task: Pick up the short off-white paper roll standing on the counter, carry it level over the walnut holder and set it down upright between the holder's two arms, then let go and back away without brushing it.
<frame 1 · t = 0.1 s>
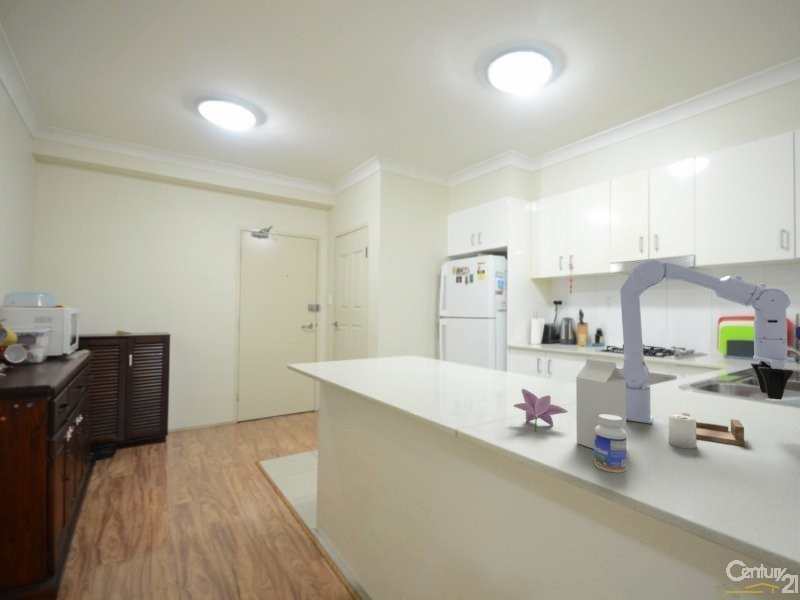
hand: (770, 395, 92), 10 cm above the countertop, tool pointing down, fingers open, 7 cm apart
paper roll: (682, 444, 87), on the countertop
milk carton: (600, 447, 85), on the countertop
pill bottle: (610, 468, 74), on the countertop
holder: (711, 436, 92), on the countertop
lily: (538, 428, 99), on the countertop
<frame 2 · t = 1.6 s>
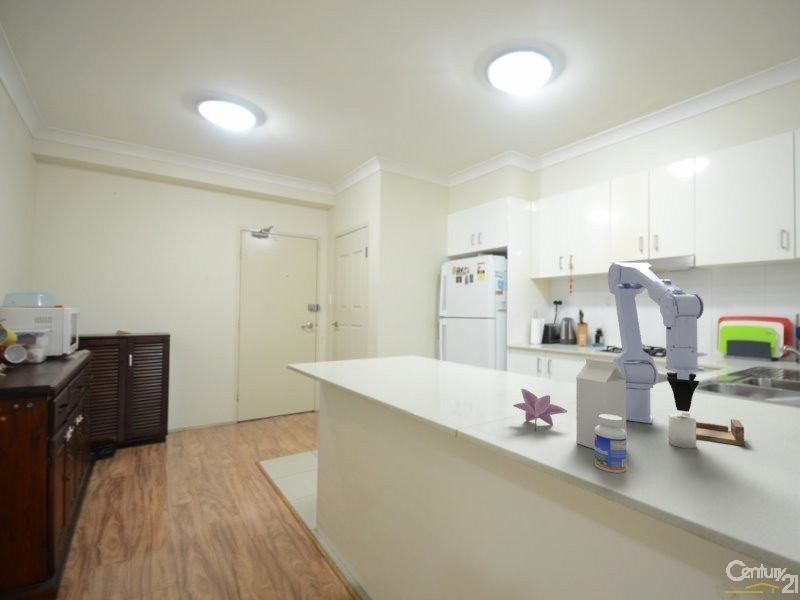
hand: (682, 407, 87), 8 cm above the countertop, tool pointing down, fingers open, 7 cm apart
nothing on the countertop moved.
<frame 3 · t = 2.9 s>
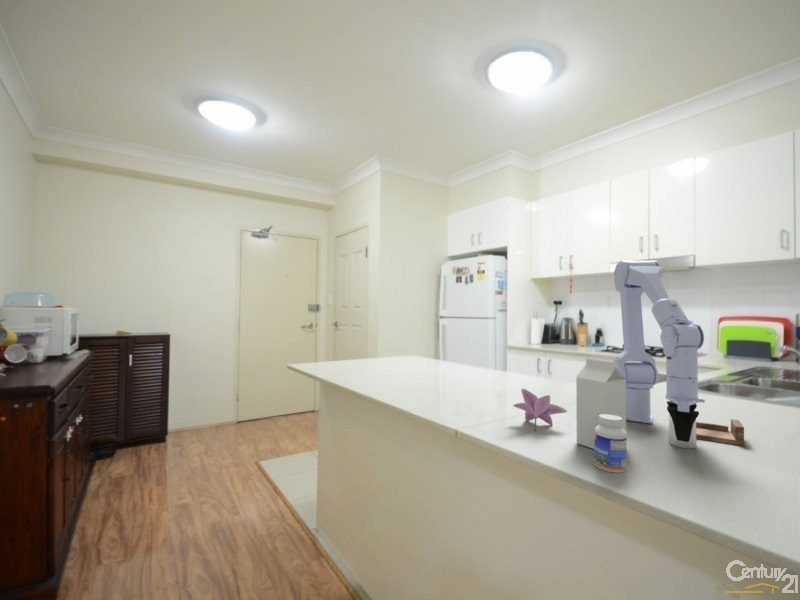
hand: (682, 437, 87), 2 cm above the countertop, tool pointing down, fingers closed on paper roll, 5 cm apart
paper roll: (682, 444, 87), on the countertop, touching gripper
everything else where it was.
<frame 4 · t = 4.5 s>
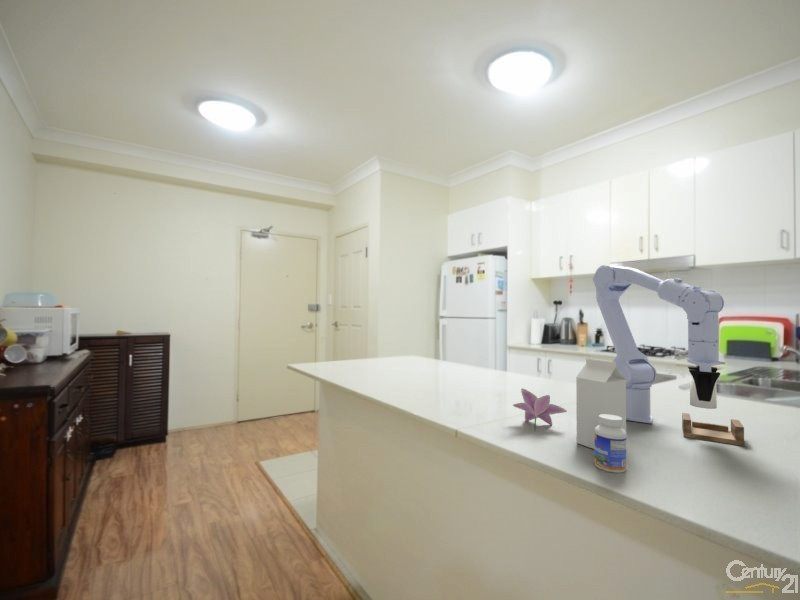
hand: (703, 398, 91), 9 cm above the countertop, tool pointing down, fingers closed on paper roll, 5 cm apart
paper roll: (703, 406, 91), point 8 cm above the countertop, touching gripper
everything else where it was.
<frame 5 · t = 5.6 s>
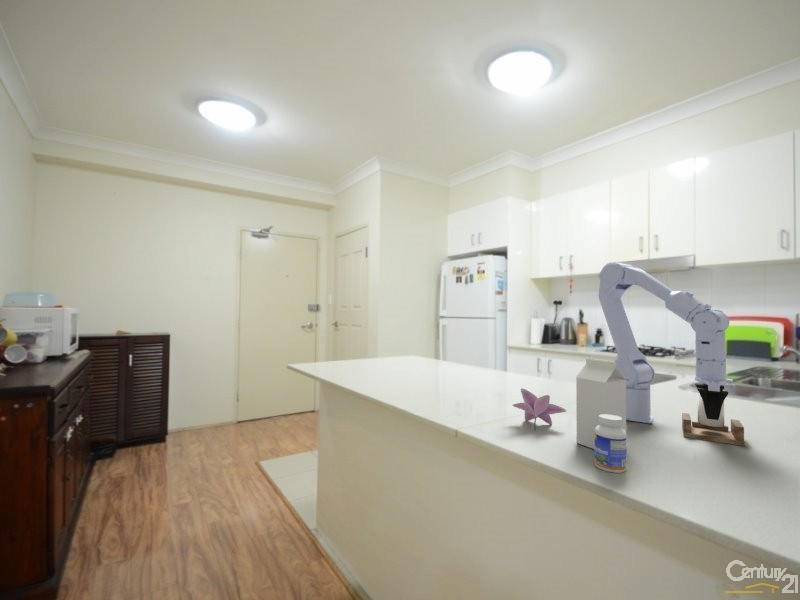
hand: (711, 416, 93), 5 cm above the countertop, tool pointing down, fingers closed on paper roll, 5 cm apart
paper roll: (710, 423, 93), point 3 cm above the countertop, touching gripper
everything else where it was.
when the fingers open (3 cm above the countertop, at t = 6.4 s): paper roll stays where it is, resting on holder.
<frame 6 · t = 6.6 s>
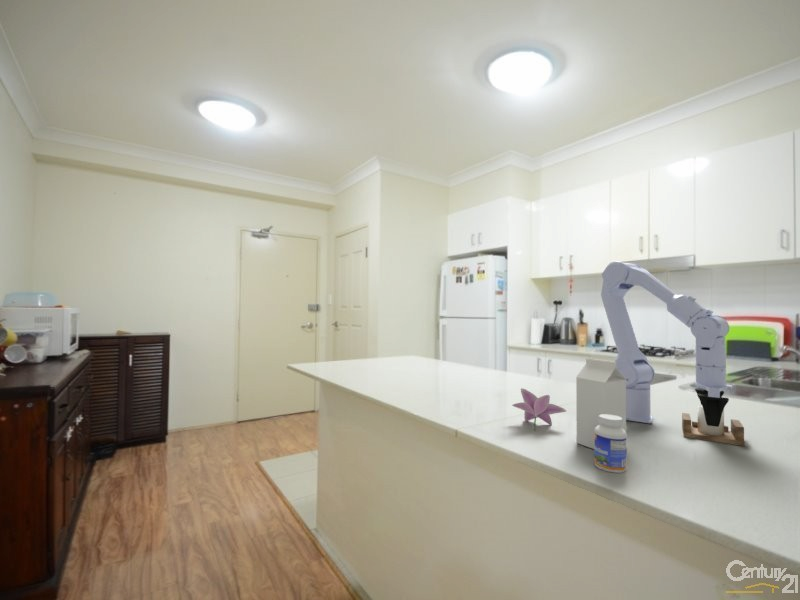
hand: (711, 422, 93), 3 cm above the countertop, tool pointing down, fingers open, 6 cm apart
paper roll: (710, 432, 93), point 1 cm above the countertop, touching holder
everything else where it was.
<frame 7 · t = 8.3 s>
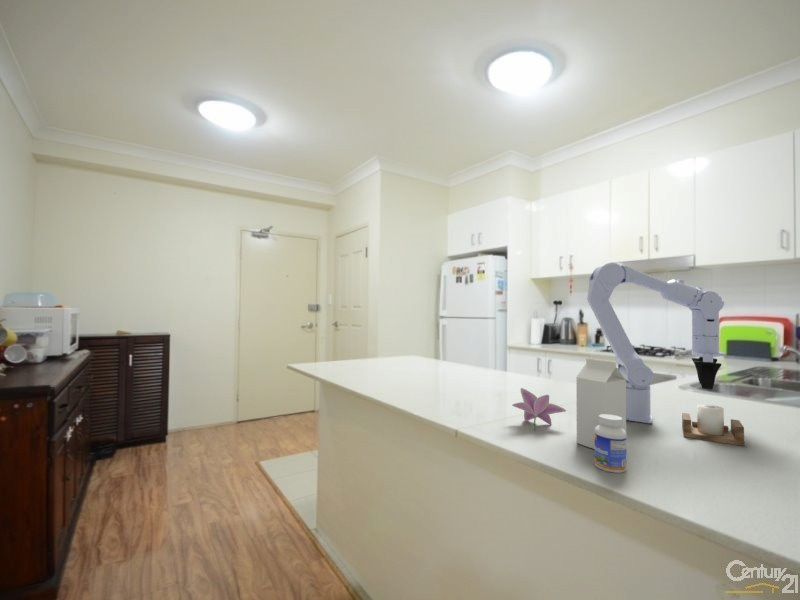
hand: (705, 386, 103), 10 cm above the countertop, tool pointing down, fingers open, 7 cm apart
nothing on the countertop moved.
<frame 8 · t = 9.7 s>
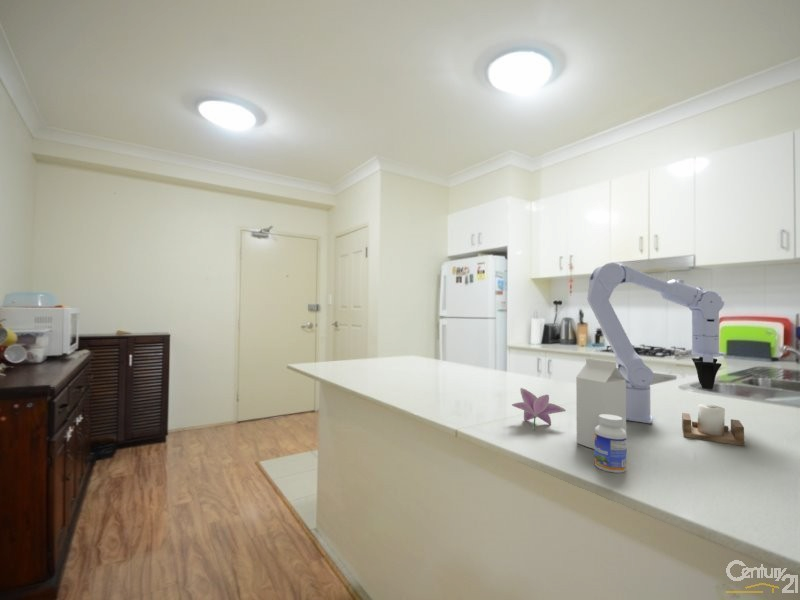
hand: (705, 386, 103), 10 cm above the countertop, tool pointing down, fingers open, 7 cm apart
nothing on the countertop moved.
at the end: paper roll 0.1 cm off-centre on the holder, point 1.0 cm above the holder's base; paper roll tilted 1°; the gripper is holding nothing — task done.
